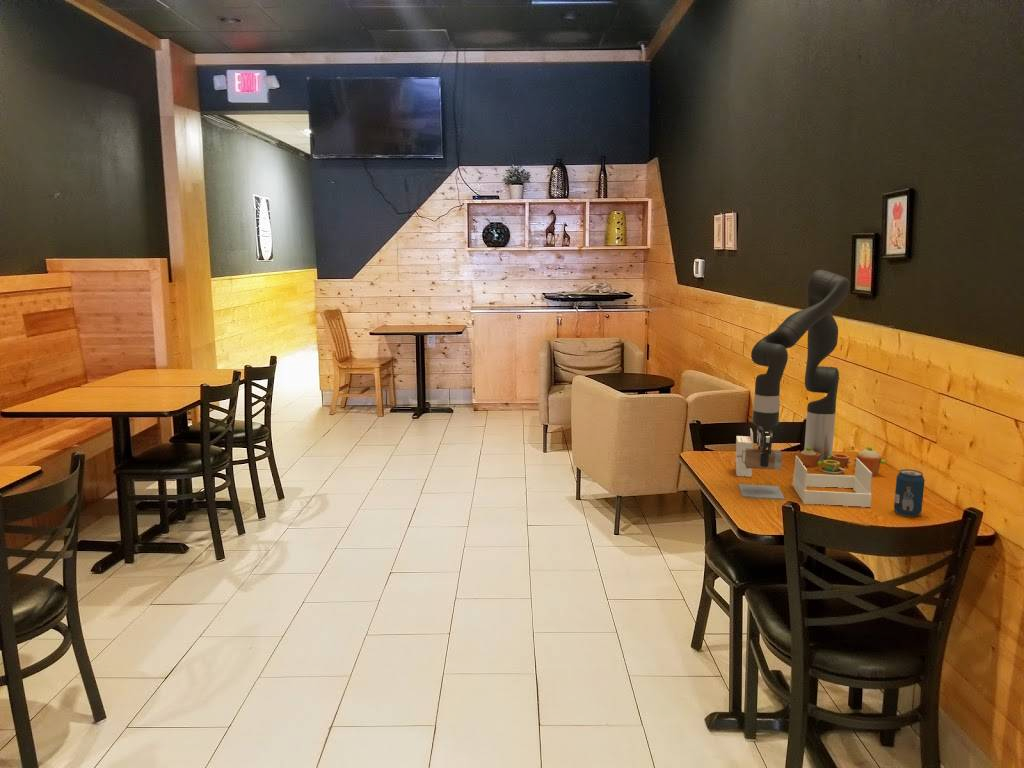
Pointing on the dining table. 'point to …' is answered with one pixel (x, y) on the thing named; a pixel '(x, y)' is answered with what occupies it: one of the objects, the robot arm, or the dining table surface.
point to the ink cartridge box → (743, 454)
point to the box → (755, 457)
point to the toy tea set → (843, 461)
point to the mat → (760, 491)
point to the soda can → (909, 492)
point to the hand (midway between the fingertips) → (762, 463)
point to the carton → (857, 482)
